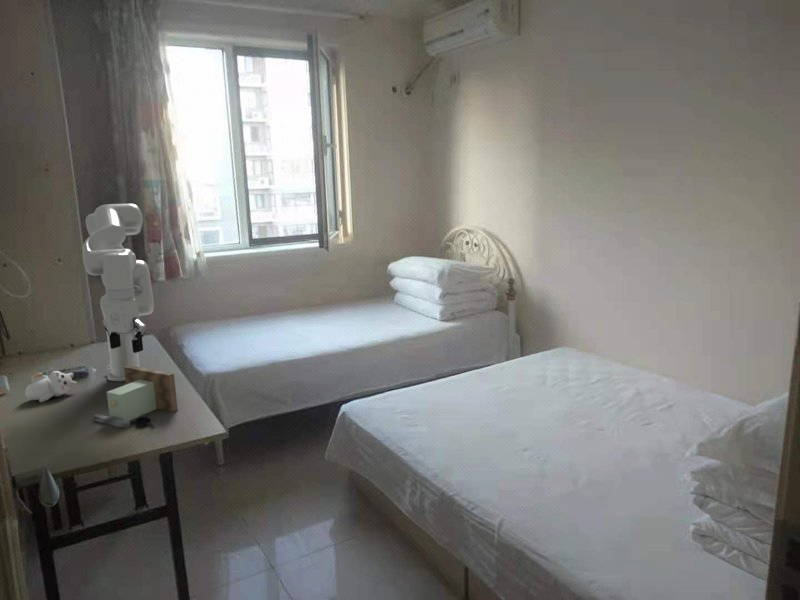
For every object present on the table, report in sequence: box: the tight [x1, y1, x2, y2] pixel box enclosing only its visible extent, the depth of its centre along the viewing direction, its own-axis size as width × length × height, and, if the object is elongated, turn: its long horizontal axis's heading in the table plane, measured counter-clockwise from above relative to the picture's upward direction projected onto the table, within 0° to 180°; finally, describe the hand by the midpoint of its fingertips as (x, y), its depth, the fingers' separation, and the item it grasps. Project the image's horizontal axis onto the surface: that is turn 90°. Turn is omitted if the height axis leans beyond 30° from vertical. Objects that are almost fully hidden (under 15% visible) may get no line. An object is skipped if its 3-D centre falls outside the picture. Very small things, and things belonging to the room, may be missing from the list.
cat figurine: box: [24, 370, 78, 403], centre depth 195 cm, size 10×8×15 cm
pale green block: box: [106, 380, 158, 422], centre depth 178 cm, size 6×13×9 cm, turn 154°
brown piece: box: [92, 365, 178, 429], centre depth 178 cm, size 20×16×12 cm
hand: (126, 349), depth 176 cm, fingers open, 9 cm apart
